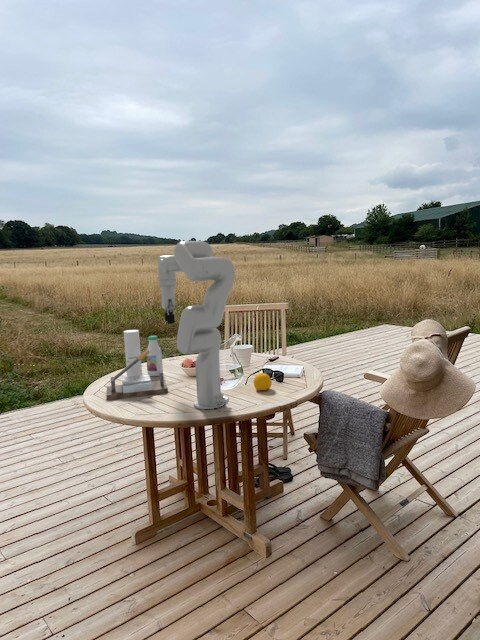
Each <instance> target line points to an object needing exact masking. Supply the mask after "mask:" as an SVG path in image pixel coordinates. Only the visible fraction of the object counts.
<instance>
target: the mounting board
mask: <svg viewBox="0 0 480 640" xmlns="http://www.w3.org/2000/svg"><path fill="white" fill-rule="evenodd" d="M151 388H152V390H148V391H140V392H131V393H123V384H119V385H118V384H117V385H116V384H115V390H116V392H112V388H111V385H109V386H106V401H107V400H108V401H110V400H117V399H127V398H135V397H144V396H152V395H158V394H159V395H161V394H167V393H169V387H168V386H167V384H166V382H165V380H164V386H161V384H160V380H154V381H153V380H151Z"/></svg>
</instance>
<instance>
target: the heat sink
mask: <svg viewBox="0 0 480 640" xmlns="http://www.w3.org/2000/svg"><path fill="white" fill-rule="evenodd" d="M159 375H160V376H159V381H160V384H161V386H164V381H165V379H164V371H163V372H162V370H160V371H159ZM114 377H115V376H110V386H111V388H112V392H116V390H115V386H116V380H112V378H114ZM121 379H122V380H121V382H122V384H121V385H123V393H131V392H140V391H148V390H152V388H151V382H152V380H151V376H149V375H148V374H142V375H140V376H131V377H127V376H124V377H121Z"/></svg>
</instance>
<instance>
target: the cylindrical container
mask: <svg viewBox="0 0 480 640" xmlns="http://www.w3.org/2000/svg"><path fill="white" fill-rule="evenodd" d="M140 339H141V338H140V330H139V329H127V330H123V343H124V355H125V366H126V367H127V366H128V365H130V364H131V363H132V362H133V361H135V360H136V359H137V358H138V356H140V355H141V354H142V353H141V352H142V351H141V342H140V341H141V340H140ZM126 367H125V368H126ZM142 367H143V366H142V359H141V360H139V361H138V362H137V363H136V364H135V365H133V366H132V367H131V368H130V369H128V370H127V371H126V377H131V376H140V375H143V372H142V371H143V368H142Z"/></svg>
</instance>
